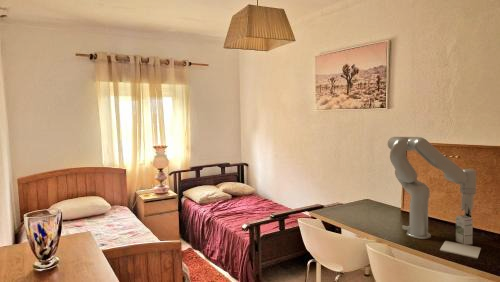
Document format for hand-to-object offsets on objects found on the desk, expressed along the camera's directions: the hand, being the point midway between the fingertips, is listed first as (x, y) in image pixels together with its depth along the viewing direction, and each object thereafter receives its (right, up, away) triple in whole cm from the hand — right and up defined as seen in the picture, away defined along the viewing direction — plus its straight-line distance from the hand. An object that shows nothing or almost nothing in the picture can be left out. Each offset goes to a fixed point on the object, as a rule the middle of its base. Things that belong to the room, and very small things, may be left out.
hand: (467, 222), depth 183 cm
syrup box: (-8, -9, -9) cm, 15 cm away
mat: (-16, -10, -18) cm, 26 cm away
